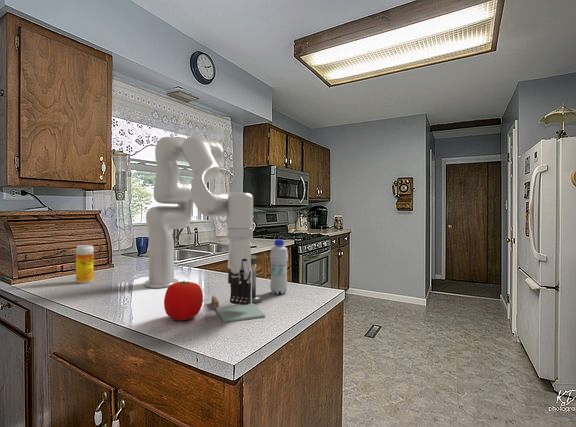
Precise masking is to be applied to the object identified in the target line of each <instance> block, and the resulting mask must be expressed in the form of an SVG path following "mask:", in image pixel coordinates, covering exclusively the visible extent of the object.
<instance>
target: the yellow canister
mask: <svg viewBox="0 0 576 427" xmlns="http://www.w3.org/2000/svg"><path fill="white" fill-rule="evenodd" d="M94 251H95V248H94V246H93V245H92V244H82V245H77V246H76V248H75V281H76V282H77V283H78V284H80V285H81V284H90V283H92V282H93V280H95V279H94V278H95V276H94V275H95V274H94V272H95V271H94V269H95V268H94V265H95V263H94V258H95V255H94V254H95V253H94Z"/></svg>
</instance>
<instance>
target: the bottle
mask: <svg viewBox="0 0 576 427" xmlns="http://www.w3.org/2000/svg"><path fill="white" fill-rule="evenodd" d="M284 243H285V242H284V240H283V239H281V238H278V239H275V240H274V246H272V247H271V248H270V254H269V257H270V260H269V261H270V265H271V266H270V284H269V285H270V287H269V288H270V290H271V293H272V294H276V295H279V292H280V295H283V294H286V293H287V291H288V260H289V254H288V253H289V252H288V248H287V247H285V246H284Z"/></svg>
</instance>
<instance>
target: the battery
mask: <svg viewBox="0 0 576 427" xmlns="http://www.w3.org/2000/svg"><path fill="white" fill-rule="evenodd" d="M240 272H243V271H240ZM227 275H228V276H227V284H230V297H229V303H231V304H233V305H248V304H251V303H252V282H253V276H252V268H251V270H250V272H249V277H248V279H249V295H248V297H237V283H239V282H238V273H237V274H233V273H232V272H231V270H230V268H229V269H228V273H227ZM242 276H243V275H241V277H242Z"/></svg>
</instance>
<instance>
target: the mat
mask: <svg viewBox="0 0 576 427" xmlns="http://www.w3.org/2000/svg"><path fill="white" fill-rule="evenodd" d="M215 310H216V312H217V314H218V315H219V317H220V319H221V320H222V322H223V323H225V324H226V323H231V322H238V321H239V322H240V321H246V320H253V319H254V320H255V319H261V318H266V315H265V313H263V311H262V310H261V309H260V308H259V307H258V306H257V304H254V303H251V304H248V305H240V304H233V305H226V306H219V307H216V309H215Z"/></svg>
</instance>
